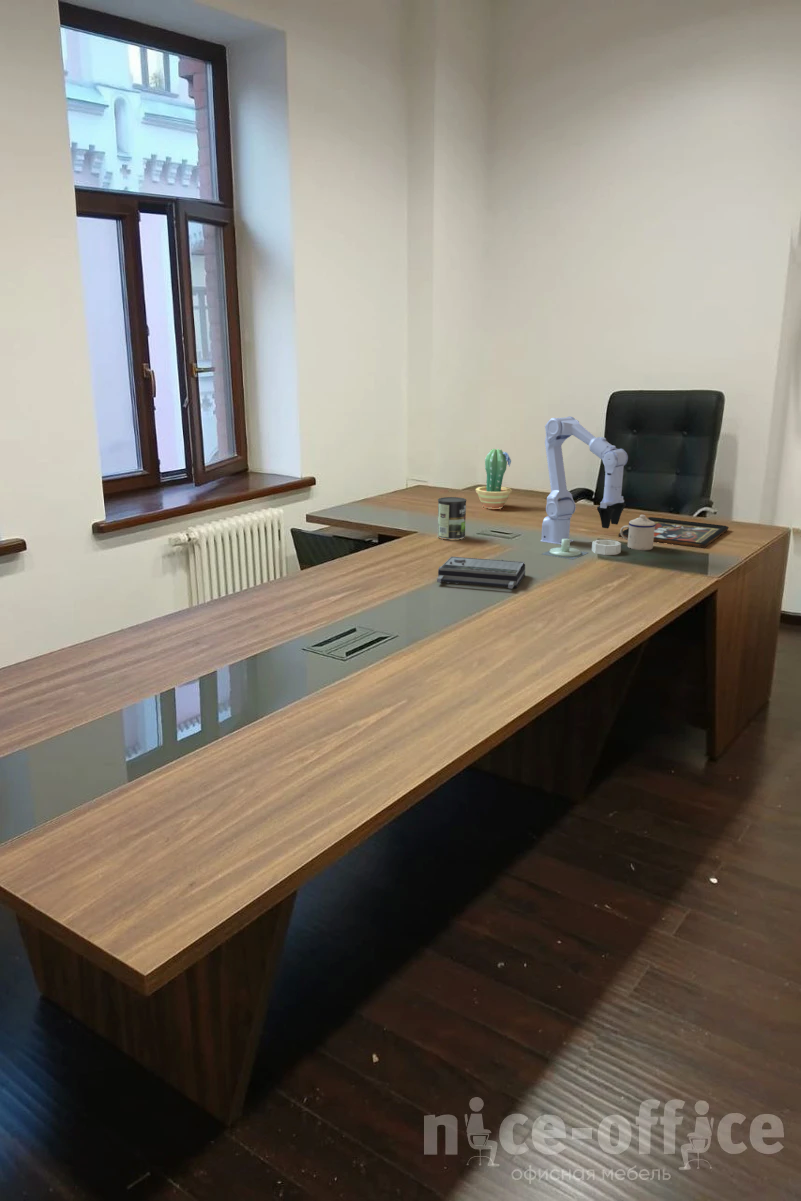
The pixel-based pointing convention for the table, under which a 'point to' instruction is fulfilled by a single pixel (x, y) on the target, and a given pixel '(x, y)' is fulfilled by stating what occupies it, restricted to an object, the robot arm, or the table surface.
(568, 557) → the mat
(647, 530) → the teacup with lid
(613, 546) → the bowl
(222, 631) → the table surface
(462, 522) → the coffee can
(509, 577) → the radio
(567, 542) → the lid
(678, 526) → the framed painting
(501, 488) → the potted cactus
